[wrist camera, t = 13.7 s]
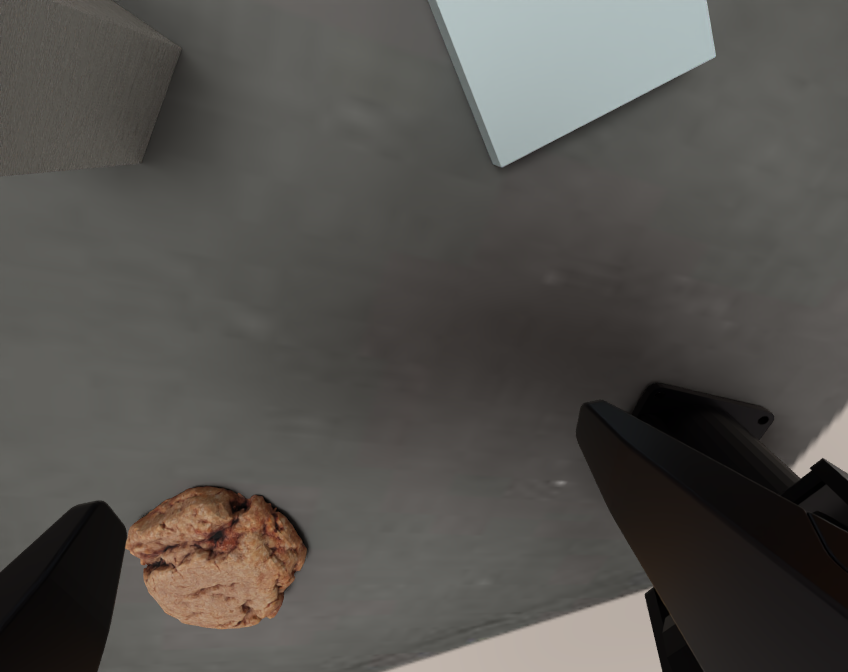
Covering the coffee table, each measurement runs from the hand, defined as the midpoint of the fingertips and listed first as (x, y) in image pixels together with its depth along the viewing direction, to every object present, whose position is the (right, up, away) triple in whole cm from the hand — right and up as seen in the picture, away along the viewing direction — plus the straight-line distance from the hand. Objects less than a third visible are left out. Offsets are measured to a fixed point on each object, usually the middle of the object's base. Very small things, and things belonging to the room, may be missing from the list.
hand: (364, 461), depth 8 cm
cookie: (-11, -10, +18) cm, 23 cm away
